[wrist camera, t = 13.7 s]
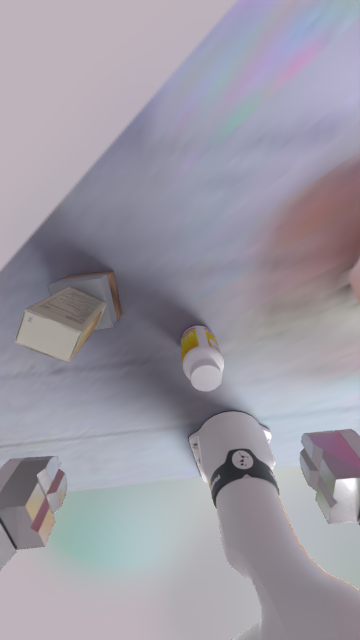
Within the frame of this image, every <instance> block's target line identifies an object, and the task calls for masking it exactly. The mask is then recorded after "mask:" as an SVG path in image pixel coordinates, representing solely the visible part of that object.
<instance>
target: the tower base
mask: <svg viewBox="0 0 360 640" xmlns="http://www.w3.org/2000/svg"><path fill="white" fill-rule="evenodd" d="M102 274H107V278H108V282H109V286H110V291H111V295H112V299H113V304H114V308H115V313H116V317H117V320H119V319H120V317H121V316H122V310H121V305H120V300H119V295H118V290H117V286H116V281H115V276H114V271H108V272H99V273H91V274H82V275H73V276H67V277H65V278H63V279H71V278H79V277H87V276H94V275H102ZM63 279H61V280H63Z"/></svg>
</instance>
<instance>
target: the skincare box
mask: <svg viewBox="0 0 360 640" xmlns="http://www.w3.org/2000/svg"><path fill="white" fill-rule="evenodd" d="M106 305H107V304H106V303H105V302H103V301H101V300H99V299H96V298H94V297H92V296H90V295H88V294H85V293H83V292H81V291H78V290H76V289H73V288H71V287H67V288H65V289H63V290H61V291H59V292H57V293H56V294H54V295H52V296H50V297H48V298H46V299H44V300H42V301H40V302H38V303H36V304H34V305H32V306H31V307H29V308H27V309H25V310H24V314H23V316H22V319H21V322H20V325H19V328H18V331H17V335H16V339H15V343H17V344H19V345H22V346H24V347H26V348H29V349H31V350H34V351H36V352H39V353H42V354H44V355H47V356H50V357H52V358H55V359H58V360H61V361H64V362H67V363H69V362H70V360H71V359H72V358H73V356H74V355H75V354H76V353H77V351H78V350H79V349H80V348H81V346H82V345H83V344H84V342H85V341H86V340H87V339H88V337H89V336H90V335H91V333H92V332H93V331H94V330H95V328H96V327H97V325H98V323H99V321H100V319H101V317H102V315H103V312H104V310H105V308H106Z"/></svg>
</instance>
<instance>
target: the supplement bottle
mask: <svg viewBox="0 0 360 640" xmlns="http://www.w3.org/2000/svg"><path fill="white" fill-rule="evenodd" d="M181 354H182V365H183V371H184V373H185V375H186V376H187V377H188V379H190V380H191V383H192V385H193V387H194V388H196V389H197V390H199V391H204V392H207V391H212V390H214V389H216V388H217V387H218V386H219V385H220V383H221V381H222V372H223V369H224V360H223V357H222V355H221V352H220V350H219V347H218V344H217V342H216V339H215V337H214V334H213V333H212V332H211V330H209V329H208V328H206V327H204V326H193V327H190V328H188V329H187V330H186V331H185V332H184V333H183V335H182V337H181Z"/></svg>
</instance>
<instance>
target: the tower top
mask: <svg viewBox="0 0 360 640" xmlns="http://www.w3.org/2000/svg"><path fill="white" fill-rule="evenodd" d="M67 287H71V288H73V289H76V290H78V291H81V292H83V293H85V294H88V295H90V296H92V297H94V298H96V299H99V300H101V301H103V302H105V303H106V304H107V305H106V308H105V310H104V312H103V315H102V317H101V319H100V321H99V323H98V325H97V327H96V328H95V330H99V329H107V328H113V326H114V325H115V323H116V321H117V317H116V313H115V308H114V304H113V299H112V295H111V291H110V286H109V282H108V278H107V274H102V275H94V276H87V277H79V278H71V279H63V280H57V281H55V282H53V283H51V284H49V285H48V288H49V291H50V294H51V296H52V295H54V294H56V293H57V292H59V291H61V290H63V289H65V288H67Z"/></svg>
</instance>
